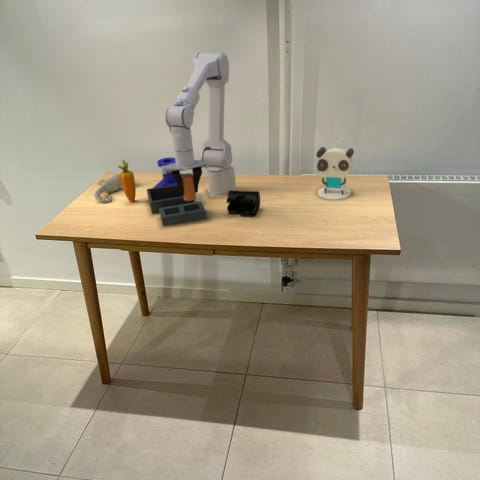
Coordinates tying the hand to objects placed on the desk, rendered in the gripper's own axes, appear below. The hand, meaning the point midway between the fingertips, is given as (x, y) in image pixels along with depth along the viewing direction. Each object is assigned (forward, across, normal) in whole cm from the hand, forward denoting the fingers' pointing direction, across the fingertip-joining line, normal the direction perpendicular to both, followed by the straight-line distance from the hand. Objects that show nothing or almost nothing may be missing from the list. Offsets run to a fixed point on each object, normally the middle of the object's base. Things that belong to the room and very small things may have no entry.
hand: (189, 192), depth 149 cm
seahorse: (+9, -24, +32) cm, 41 cm away
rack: (+9, -3, 0) cm, 9 cm away
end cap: (+9, +17, -2) cm, 19 cm away
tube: (+2, 0, 0) cm, 2 cm away
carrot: (+9, -18, +20) cm, 28 cm away
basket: (+8, -5, +13) cm, 16 cm away
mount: (+9, -2, +33) cm, 34 cm away
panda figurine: (+9, +50, +1) cm, 51 cm away
